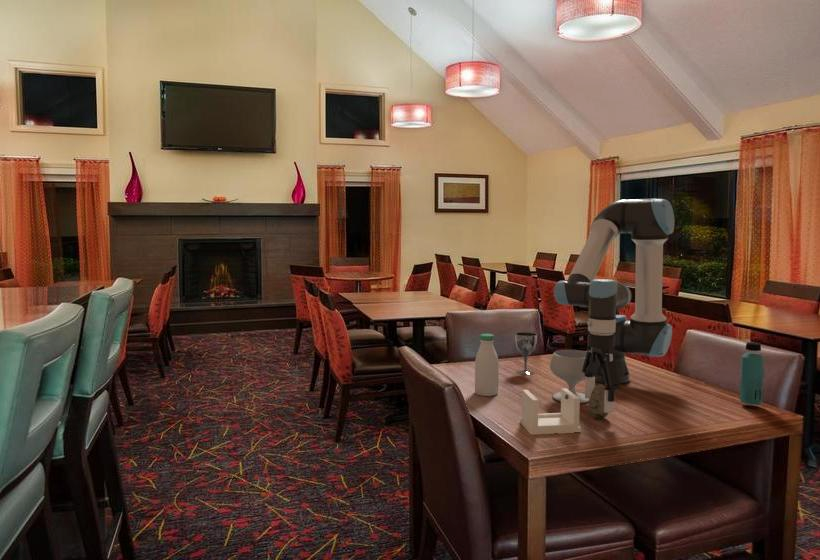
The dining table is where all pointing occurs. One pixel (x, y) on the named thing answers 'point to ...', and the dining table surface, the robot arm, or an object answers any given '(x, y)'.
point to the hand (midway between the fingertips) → (598, 405)
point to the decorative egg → (597, 402)
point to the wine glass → (525, 348)
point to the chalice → (569, 370)
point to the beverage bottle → (752, 375)
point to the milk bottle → (486, 367)
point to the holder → (551, 415)
